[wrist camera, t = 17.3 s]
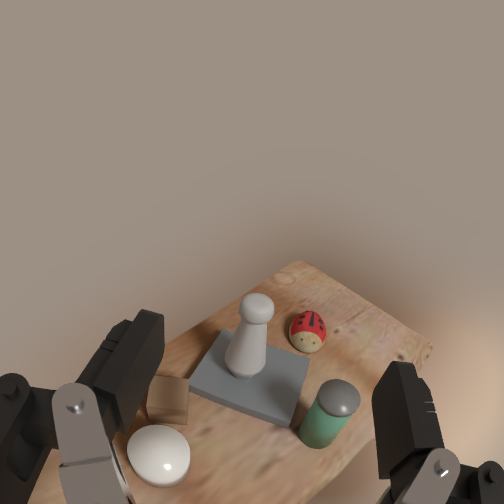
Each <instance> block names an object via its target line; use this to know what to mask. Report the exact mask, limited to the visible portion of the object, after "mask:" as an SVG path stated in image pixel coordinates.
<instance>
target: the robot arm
mask: <svg viewBox="0 0 504 504" xmlns="http://www.w3.org/2000/svg"><path fill="white" fill-rule="evenodd" d="M164 347H165V342H164V316H163V315H162V314H158V313H155V312H152V311H148V310H144V309H142V310H140V312H139V313H138V315H137V316H136V318H135V319H134V321H133V322H132V321H129V320H126V319H125V320H123V321H122V322H120V323H119V324H117V325H116V326H114V327H113V328H112V329H111V331H110V332H109V334H108V335H107V337H106V339H105V340H104V341H103V342H102V344H101V345H100V348H99V349H98V350H97V351H96V353H95V354H94V355H93V357H92V358H91V360H90V361H89V363H88V364H87V366H86V368H85V369H84V370H83V372H82V373H81V375H80V376H79V378H78V379H77V381H76V382H74V383H69V384H66V385H63V386H61V387H60V388H59V389H57V390H48V389H42V388H35V387H30V385H29V384H28V382H27V380H26V379H25V378H24V377H23V376H21V375H19V374H15V373H9V374H5V375H3V376H1V377H0V504H27V503H28V500H29V498H30V495H31V493H32V491H33V488H34V486H35V484H36V481H37V479H38V477H39V475H40V472H41V470H42V468H43V466H44V464H45V461H46V459H47V457H48V455H49V453H50V451H51V449H52V448H53V449H59V451H60V456H61V465H60V466H59V476H60V480H61V484H62V488H63V492H64V496H65V499H66V503H67V504H136V503H135V500H134V498H133V496H132V494H131V492H130V489H129V487H128V484H127V482H126V479H125V476H124V474H123V471H122V468H121V465H120V462H119V459H118V456H117V453H116V450H115V447H114V444H113V441H112V440H113V438H114V436H115V434H116V432H117V431H120V432H122V433H125V434H127V433H128V430H129V428H130V426H131V424H132V422H133V420H134V417H135V415H136V413H137V411H138V409H139V407H140V405H141V402H142V400H143V398H144V396H145V394H146V392H147V390H148V388H149V386H150V383H151V381H152V379H153V377H154V375H155V373H156V371H157V369H158V367H159V365H160V363H161V360H162V357H163V353H164ZM372 410H373V418H374V427H375V437H376V447H377V458H378V471H379V479H390V481H391V485H390V486H389V487H388V488H387V489H386V490H385V492H384V493H383V495H382V496H381V497H380V499H379V500H378V501H377V503H376V504H504V470H503V469H502V467H501V466H500V465H499V464H498V463H496V462H494V461H487V462H485V463H484V464H482V465H481V466H479V468H475V467H470V466H466V465H463V464H460V463H459V460H458V458H457V457H456V455H455V454H454V453H453V452H451V451H450V450H447V449H445V447H444V443H443V439H442V435H441V430H440V426H439V422H438V418H437V414H436V413H435V407H434V404H433V399H432V396H431V392H430V389H429V388H428V386H427V385H426V383H425V382H424V380H423V379H422V378H418V376H417V373H416V369H415V366H414V364H413V363H408V362H399V361H392V362H391V363H390V365H389V366H388V368H387V369H386V371H385V373H384V374H383V376H382V377H381V379H380V380H379V382H378V384H377V385H376V387H375V389H374V391H373V395H372Z"/></svg>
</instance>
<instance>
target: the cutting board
mask: <svg viewBox="0 0 504 504" xmlns="http://www.w3.org/2000/svg"><path fill="white" fill-rule="evenodd" d="M234 334H235V333H233V332H230V331H228V330H225V329H222V331H221V332H220V334H219V335H218V337H217V338H216V340H215V341H214V343H213V344H212V346H211V347H210V349H209V350H208V352H207V353H206V355H205V356H204V358H203V359H202V361H201V362H200V364H199V365H198V367H197V368H196V370H195V371H194V372H193V374H192V375H191V377H190V378H189V391H190V392H193V393H195V394H197V395H200V396H202V397H204V398H207V399H209V400H211V401H214V402H216V403H219V404H221V405H224V406H226V407H229V408H232V409H234V410H237V411H239V412H242V413H245V414H248V415H250V416H253V417H256V418H259V419H262V420H265V421H267V422H270V423H273V424H276V425H280V426H283V427H286V428H288V427H289V425H290V423H291V420H292V417H293V414H294V411H295V408H296V405H297V401H298V398H299V395H300V392H301V389H302V385H303V382H304V379H305V375H306V372H307V369H308V365H309V362H310V359H309V358H306V357H303V356H300V355H297V354H294V353H291V352H288V351H285V350H282V349H279V348H276V347H273V346H270V345H267V344H266V361H265V365H264V367H263V368H262V370H261V371H260V372H259V373H257V374H256V375H254V376H253V377H251V378H250V379H241V378H236V377H235V376H234V375H233V374H232V372H231V371H230V370H229V369H228V366H227V364H226V362H225V353H226V350H227V348H228V346H229V344H230V342H231V340H232V338H233V336H234Z"/></svg>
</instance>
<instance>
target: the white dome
mask: <svg viewBox="0 0 504 504" xmlns="http://www.w3.org/2000/svg"><path fill="white" fill-rule="evenodd" d="M127 453H128V457H129V460H130V462H131V465H132V467H133V470H134V472H135V473H136V475H137V476H138V477H139V478H140V479H141V480H142V481H143V482H144V483H146V484H148V485H150V486H153V487H157V488H169V487H173V486H176V485H178V484H179V483H181V482H182V481H183V480H184V479H185V478H186V477H187V475H188V473H189V469H190V448H189V445H188V443H187V441H186V439H185V438H184V437H183V436H182V435H181V434H180V433H179V432H178V431H176V430H175V429H173V428H170V427H167V426H163V425H149V426H145V427H143V428H141V429H139V430H137V431H136V432H135V433H134V434H133V435H132V436H131V438H130V439H129V442H128V445H127Z"/></svg>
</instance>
